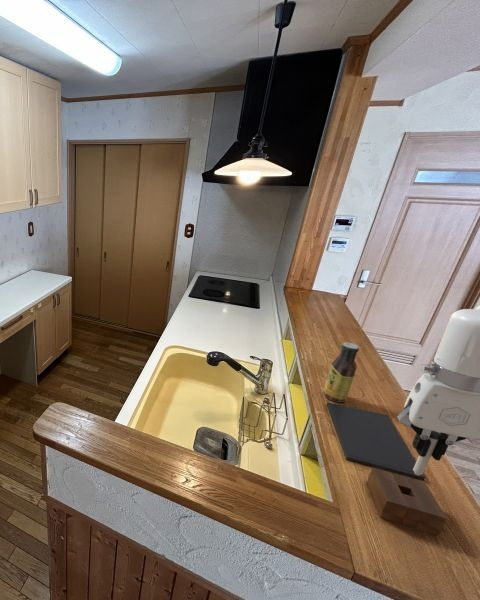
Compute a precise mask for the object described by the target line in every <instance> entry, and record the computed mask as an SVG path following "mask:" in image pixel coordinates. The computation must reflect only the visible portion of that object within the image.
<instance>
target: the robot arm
mask: <svg viewBox="0 0 480 600" xmlns="http://www.w3.org/2000/svg"><path fill="white" fill-rule="evenodd" d="M420 371H421V372H424V373H423V374H421V375H420V377H419V378H418V379H417V381H416V382H415V384H414V385H413V387H412V388H411V390H410V392H409V394H408V396H407V398H406V400H405V402H404V404H403V405H404V406H403V410H402V411H401V412H400V413H399V414H398V415H397V416H396V419H397V420H398V422H399V423H400V424H402V425H404V426H407V427H409V428H410V429H412V430H413V431H414V432H415V436H414V438H413V440H412V447H413V448H414V449H415V451H416V452H417V454H418V457H419V456H422V457H424V456H426V454H427V451H428V449H429V447H430V445H431V441H430V440H429V437H430V434H431V431H436V432H438V433H439V434H440V438H439V439H438V442H437V444H436V446H435V448H434V451H433V453H432V455H431V457H432V459H433V460H435V461H441V459H442V457H443V456H444V455H445V454H446V452H447V451H448V448H449V446H454V445H455V444H456V443H458V442H461V441H464V440H466V439H467V440H480V305H478V306H476V307H475V308H462V309H459V310H456V311H454V312H453V313H452V314H451V315H450V317H449V319H448V322H447V324H446V327H445V329H444V332H443V334H442V337H441V340H440V342H439V345H438V347H437V349H436V353H435V355H434V357H433V360H431V361H430V363H429V364H421V365H420Z"/></svg>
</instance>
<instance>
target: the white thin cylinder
mask: <svg viewBox="0 0 480 600" xmlns="http://www.w3.org/2000/svg"><path fill="white" fill-rule="evenodd" d="M439 438H440V434H439V433H438V432H436V431H431V434H430V437H429V440H430V441H431V445H430V447H429V449H428V451H427V454H426V456H424V457H422V456H419V455H418V457H417V459H416V460H415V461H416V464H415V466H414V468H413V471H414V473H415V474H416V475H422V474H423V475H424V473H425V471H426V469H427V467H428V465H429V462H430V460H431V457H432V453H433V451H434V448H435V446H436V444H437V442H438V439H439Z"/></svg>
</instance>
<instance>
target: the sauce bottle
mask: <svg viewBox="0 0 480 600" xmlns="http://www.w3.org/2000/svg"><path fill="white" fill-rule="evenodd" d="M359 349H360V346H359V345H358V344H355V343H353V342H347V341H346V342H343V343H342V344H341V350H340V353H339V354H338V355H337V357H335V359H334V360H333V361H332V362H331V364H330V368H329V371H328V374H327V377H326V381H325V384H324V386H323V396H324V397H325V398H326V399H327V400H329V401H332V402H336V403H344V402H345V401H346V400H347V398H348V396H349V393H350V391H351V387H352V385H353V382H354V379H355V375H356V371H357V368H358V367H357V366H358V365H357V362H356V356H357V353H358V352H359V351H360V350H359Z"/></svg>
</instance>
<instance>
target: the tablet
mask: <svg viewBox="0 0 480 600" xmlns="http://www.w3.org/2000/svg"><path fill="white" fill-rule="evenodd" d="M325 405H326V408H327V410H328V413H329V416H330V418H331V422H332V424H333V427H334V429H335V432H336V435H337V438H338V440H339V443H340V446H341V449H342V451H343V455H344V457H345V460H346V461H350V462H353V463H356V464H361V465H364V466H367V467H372V468H376V469H380V470H384V471H387V472H391V473H395V474H399V475H402V476H406V477H409V478H413V479H417V480H420V481H424V482H425V479H426V476H425V474H424V473H423V474H422V475H416V474H415V473H414V471H413V468H414V466H415V464H416V461H417V460H415V457H413V455H412V453H411V451H410V450H409V448H408V446H407V445H406V444H405V442H404V440H403V438H402V436H401V435H400V433H399V431H398V430H397V429H396V427H395V425H394V422H392V420H391V418H390V416H389V415H388V414H384V413H380V412H376V411H370V410H365V409H361V408H356V407H352V406H347V405H343V404H338V403H333V402H330V401H327V402H326V404H325Z"/></svg>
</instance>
